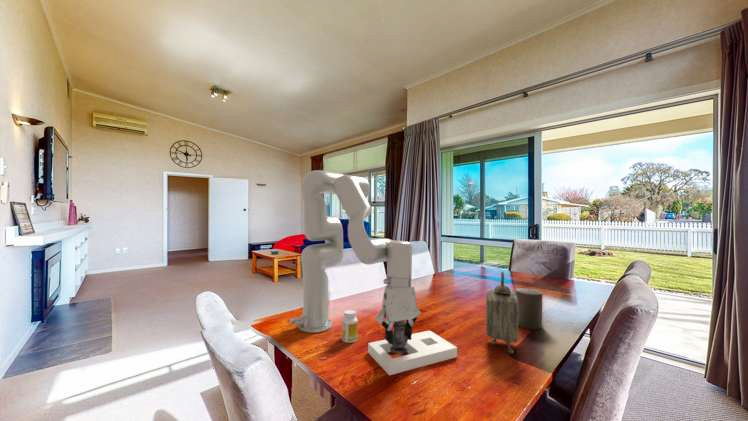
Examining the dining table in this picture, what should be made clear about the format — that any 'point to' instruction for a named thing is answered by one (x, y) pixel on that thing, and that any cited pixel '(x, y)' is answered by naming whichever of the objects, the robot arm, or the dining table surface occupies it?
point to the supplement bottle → (349, 326)
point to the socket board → (413, 352)
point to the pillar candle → (529, 308)
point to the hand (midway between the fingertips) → (398, 339)
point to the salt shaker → (399, 338)
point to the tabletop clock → (502, 314)
